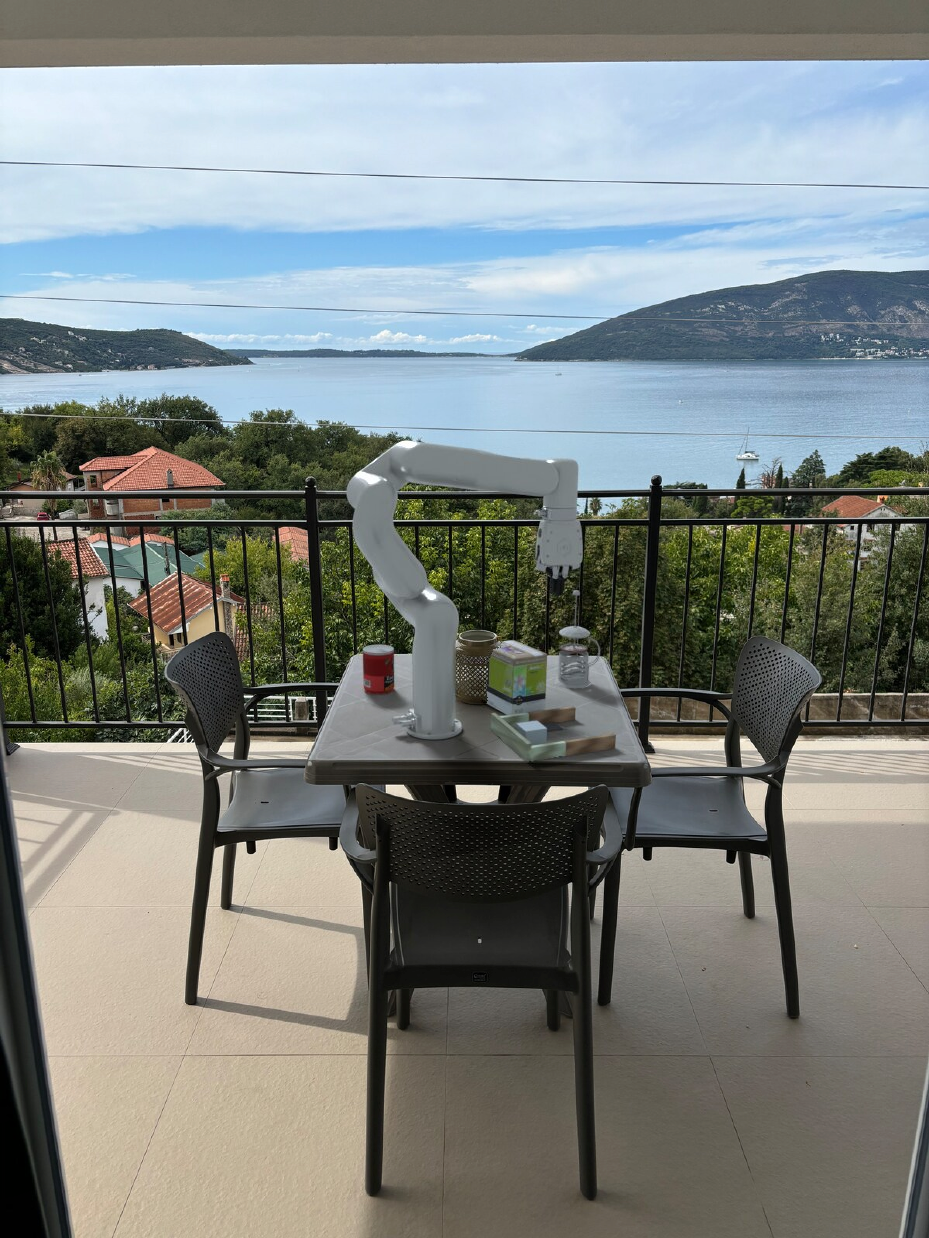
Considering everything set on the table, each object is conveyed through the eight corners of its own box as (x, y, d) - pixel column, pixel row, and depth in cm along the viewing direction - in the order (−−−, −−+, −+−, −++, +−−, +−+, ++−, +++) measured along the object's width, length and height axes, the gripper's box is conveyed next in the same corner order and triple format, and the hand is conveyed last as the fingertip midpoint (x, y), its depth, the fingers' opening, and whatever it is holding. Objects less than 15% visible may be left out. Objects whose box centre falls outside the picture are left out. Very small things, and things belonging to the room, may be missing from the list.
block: (525, 748, 187) (525, 731, 186) (515, 740, 192) (516, 723, 191) (546, 745, 189) (547, 728, 188) (536, 737, 193) (536, 720, 192)
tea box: (546, 712, 208) (548, 653, 205) (511, 719, 203) (512, 659, 200) (512, 694, 221) (514, 637, 217) (478, 700, 216) (479, 643, 212)
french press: (552, 676, 235) (556, 585, 228) (596, 677, 234) (600, 586, 228) (555, 688, 225) (558, 594, 219) (600, 689, 225) (604, 594, 218)
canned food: (390, 695, 219) (390, 653, 216) (359, 693, 220) (358, 651, 217) (397, 685, 226) (397, 645, 224) (367, 684, 228) (367, 643, 225)
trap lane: (526, 762, 180) (527, 744, 179) (490, 729, 197) (490, 713, 196) (615, 748, 187) (616, 730, 186) (573, 718, 204) (573, 702, 203)
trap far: (539, 732, 195) (539, 731, 195) (530, 726, 199) (530, 725, 199) (563, 729, 197) (563, 728, 197) (554, 722, 202) (554, 721, 201)
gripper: (537, 518, 189) (534, 600, 194) (597, 515, 195) (593, 595, 199) (522, 514, 196) (520, 593, 201) (581, 511, 202) (577, 588, 206)
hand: (557, 594), depth 200 cm, fingers closed
